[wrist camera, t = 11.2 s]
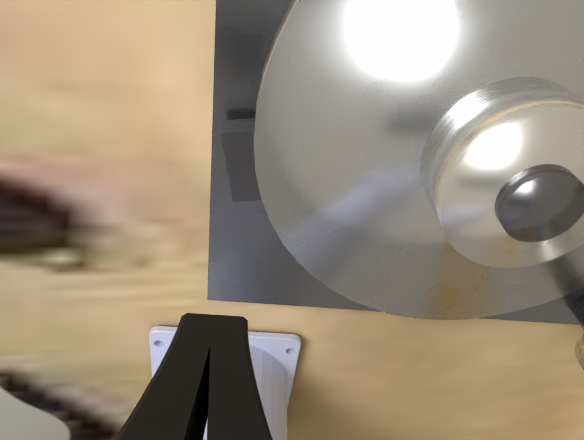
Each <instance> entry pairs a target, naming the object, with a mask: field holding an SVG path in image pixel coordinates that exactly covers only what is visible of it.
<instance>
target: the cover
mask: <svg viewBox="0 0 584 440" xmlns="http://www.w3.org/2000/svg"><path fill="white" fill-rule="evenodd" d="M420 176H421V182H422V185H423V188H424V191H425V193H426V195H427V197H428V199H429V201H430V204H431V206H432V208H433V210H434V212H435V214H436V216H437V218H438V221H439V223H440V225H441V227H442V229H443V231H444V233H445V235H446V237H447V239H448V241H449V243H450V244H451V245H452V246H453V248H454V249H455V250H456V251H458V252H459V253H460V254H461V255H463V256H464V257H466V258H467V259H469V260H471V261H474V262H476V263H479V264H482V265H485V266H491V267H498V268H518V267H525V266H531V265H535V264H540V263H543V262H546V261H549V260H552V259H555V258H557V257H560V256H562V255H564V254H566V253H568V252H570V251H572V250H574V249H576V248H577V247H579V246H581V245H582V244H584V101H583V100H582V99H580V98H579V97H578V96H576V95H575V94H574V93H572V92H571V91H570V90H568V89H567V88H565V87H564V86H562V85H561V84H558V83H556V82H553V81H551V80H547V79H543V78H536V77H516V78H510V79H504V80H501V81H497V82H494V83H491V84H489V85H486V86H484V87H481V88H480V89H478V90H476V91H474V92H472V93H470V94H469V95H467V96H466V97H464V98H463V99H461V100H460V101H459V102H457V103H456V104H455V105H454V106H453V107H451V108H450V109H449V110H448V111H447V112H446V113H445V114H444V116H443V117H442V118H441V119H440V120H439V122H438V123H437V124H436V125H435V127H434V128H433V130H432V132H431V133H430V135H429V137H428V139H427V141H426V144H425V146H424V149H423V153H422V156H421V163H420Z"/></svg>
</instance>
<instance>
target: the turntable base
mask: <svg viewBox="0 0 584 440" xmlns="http://www.w3.org/2000/svg"><path fill="white" fill-rule="evenodd" d="M291 1H292V0H216V22H215V57H214V91H213V126H212V160H211V195H210V229H209V263H208V298H207V300H219V301H234V302H249V303H264V304H278V305H293V306H308V307H323V308H338V309H353V310H368V311H379V310H376V309H372V308H369V307H367V306H364V305H362V304H359V303H357V302H354V301H352V300H350V299H348V298H346V297H344V296H342V295H340V294H339V293H337V292H335V291H333V290H331V289H330V288H328V287H327V286H326V285H324V284H323V283H321V282H320V281H319V280H317V279H316V278H315V277H313V276H312V275H311V274H310V273H309V272H308V271H307V270H306V269H305V268H304V267H303V266H302V265H300V264H299V263H298V262H297V261H296V260H295V258H294V257H293V256H292V254H291V253H290V252H289V251H288V249H287V248H286V247H285V246H284V244H283V243H282V241H281V240H280V238H279V236H278V234H277V233H276V231H275V229H274V227H273V226H272V224H271V222H270V220H269V217H268V215H267V212H266V209H265V207H264V204H263V202H262V200H258V201H245V202H233V200H232V194H231V188H230V183H229V177H228V172H227V166H226V160H225V155H224V149H223V144H222V138H221V129H222V124H223V120H235V119H248V118H255V117H256V106H257V94H258V89H259V85H260V81H261V76H262V72H263V67H264V63H265V60H266V57H267V54H268V52H269V49H270V46H271V44H272V41H273V38H274V36H275V33H276V30H277V28H278V26H279V24H280V22H281V20H282V18H283V17H284V15H285V13H286V11H287V9H288V7H289V5H290V3H291ZM480 318H487V319H502V320H517V321H532V322H546V323H561V324H576V325H581V326H582V328H583V329H584V287H583V288H581V289H579V290H577V291H575V292H572V293H570V294H568V295H565V296H563V297H560V298H557V299H554V300H552V301H549V302H546V303H543V304H540V305H537V306H533V307H530V308H526V309H522V310H519V311H515V312H510V313H505V314H500V315H495V316H489V317H480ZM575 353H576V357H577V359H578V362H579V363H580V365H581V367H582V368H583V369H584V334H583V335H582V337H581V338H580V339H579V341H578V342H577V344H576V347H575Z"/></svg>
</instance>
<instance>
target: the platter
mask: <svg viewBox="0 0 584 440" xmlns="http://www.w3.org/2000/svg"><path fill="white" fill-rule="evenodd" d="M516 77H536V78H543V79H547V80H551V81H553V82H556V83H558V84H561V85H562V86H564V87H565V88H567V89H568V90H570V91H571V92H572V93H574V94H575V95H576V96H578V97H579V98H580V99H582V100H583V101H584V0H292V1H291V3H290V5H289V7H288V9H287V11H286V13H285V15H284V17H283V18H282V20H281V22H280V24H279V26H278V28H277V30H276V33H275V36H274V38H273V41H272V44H271V46H270V49H269V52H268V54H267V57H266V60H265V63H264V67H263V72H262V76H261V81H260V85H259V89H258V94H257V106H256V117H255V118H248V119H235V120H223V124H222V129H221V138H222V144H223V149H224V155H225V160H226V166H227V172H228V177H229V183H230V188H231V194H232V200H233V202H245V201H258V200H262V202H263V204H264V207H265V209H266V212H267V215H268V217H269V220H270V222H271V224H272V226H273V227H274V229H275V231H276V233H277V234H278V236H279V238H280V240H281V241H282V243H283V244H284V246H285V247H286V248H287V249H288V251H289V252H290V253H291V254H292V256H293V257H294V258H295V260H296V261H297V262H298V263H299V264H300V265H302V266H303V267H304V268H305V269H306V270H307V271H308V272H309V273H310V274H311V275H312V276H313V277H315V278H316V279H317V280H319V281H320V282H321V283H323V284H324V285H326V286H327V287H328V288H330V289H331V290H333V291H335V292H337V293H339V294H340V295H342V296H344V297H346V298H348V299H350V300H352V301H354V302H357V303H359V304H362V305H364V306H367V307H369V308H372V309H376V310H379V311H383V312H387V313H390V314H394V315H400V316H406V317H413V318H421V319H437V320H452V319H471V318H480V317H489V316H495V315H500V314H505V313H510V312H515V311H519V310H522V309H526V308H530V307H533V306H537V305H540V304H543V303H546V302H549V301H552V300H554V299H557V298H560V297H563V296H565V295H568V294H570V293H572V292H575V291H577V290H579V289H581V288H583V287H584V244H582V245H581V246H579V247H577V248H576V249H574V250H572V251H570V252H568V253H566V254H564V255H562V256H560V257H557V258H555V259H552V260H549V261H546V262H543V263H540V264H535V265H531V266H525V267H518V268H498V267H491V266H485V265H482V264H479V263H476V262H474V261H471V260H469V259H467V258H466V257H464V256H463V255H461V254H460V253H459V252H458V251H456V250H455V249H454V248H453V246H452V245H451V244H450V243H449V241H448V239H447V237H446V235H445V233H444V231H443V229H442V227H441V225H440V223H439V221H438V218H437V216H436V214H435V212H434V210H433V208H432V206H431V204H430V201H429V199H428V197H427V195H426V193H425V191H424V188H423V185H422V182H421V176H420V163H421V156H422V153H423V149H424V146H425V144H426V141H427V139H428V137H429V135H430V133H431V132H432V130H433V128H434V127H435V125H436V124H437V123H438V122H439V120H440V119H441V118H442V117H443V116H444V114H445V113H446V112H447V111H448V110H449V109H450V108H451V107H453V106H454V105H455V104H456V103H457V102H459V101H460V100H461V99H463V98H464V97H466V96H467V95H469V94H470V93H472V92H474V91H476V90H478V89H480V88H481V87H484V86H486V85H489V84H491V83H494V82H497V81H501V80H504V79H510V78H516Z"/></svg>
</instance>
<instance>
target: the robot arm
mask: <svg viewBox="0 0 584 440" xmlns="http://www.w3.org/2000/svg"><path fill="white" fill-rule="evenodd" d="M149 343H150V355H151V367H152V379H151V381H150V383H149V385H148V386H147V388H146V390H145V392H144V393H143V395H142V397H141V399H140V400H139V402H138V404H137V405H136V407H135V408H134V410H133V412H132V413H131V415H130V416H129V418H128V419H127V421H126V422H125V424H124V425H123V427H122V428H121V430H120V432H119V433H118V435H117V436H116V438H115V439H114V440H287V408H288V403H289V398H290V394H291V389H292V384H293V380H294V375H295V370H296V366H297V361H298V356H299V352H300V347H301V339H300V337H299V336H297V335H294V334H282V333H266V332H250V331H248V321H247V320H246V319H245V318H244V317H240V316H224V315H209V314H193V313H186V314H185V315H183V316H182V317H181V320H180V322H179V325H178V327H168V326H155V327H153V328H152V329H151V331H150V334H149ZM289 348H290V349H289Z"/></svg>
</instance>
